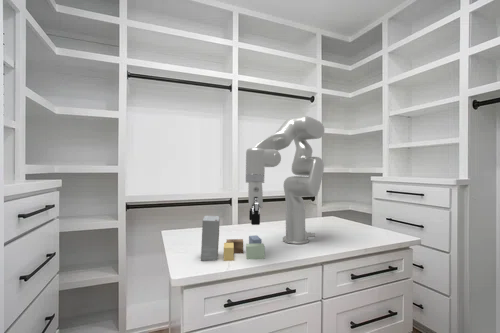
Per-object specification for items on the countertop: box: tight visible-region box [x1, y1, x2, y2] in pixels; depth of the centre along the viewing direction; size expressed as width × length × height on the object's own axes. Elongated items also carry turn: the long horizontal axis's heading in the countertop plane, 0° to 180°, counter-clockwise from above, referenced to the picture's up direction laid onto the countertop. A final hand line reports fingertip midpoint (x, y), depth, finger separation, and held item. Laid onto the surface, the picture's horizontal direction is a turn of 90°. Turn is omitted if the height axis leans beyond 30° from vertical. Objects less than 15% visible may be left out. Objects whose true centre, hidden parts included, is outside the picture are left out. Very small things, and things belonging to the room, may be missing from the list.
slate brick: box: [248, 234, 263, 244], centre depth 111 cm, size 7×4×5 cm, turn 14°
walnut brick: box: [225, 238, 244, 255], centre depth 107 cm, size 7×4×5 cm, turn 94°
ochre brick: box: [223, 242, 235, 262], centre depth 100 cm, size 7×4×5 cm, turn 4°
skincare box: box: [200, 215, 221, 262], centre depth 100 cm, size 8×7×16 cm
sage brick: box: [245, 243, 266, 260], centre depth 100 cm, size 7×4×5 cm, turn 94°
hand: (254, 222), depth 100 cm, fingers open, 9 cm apart
